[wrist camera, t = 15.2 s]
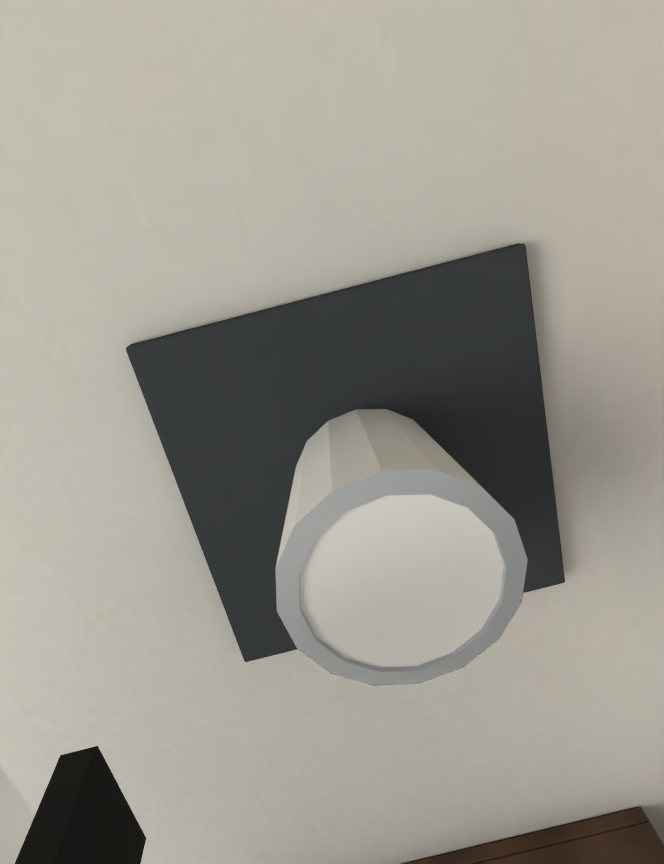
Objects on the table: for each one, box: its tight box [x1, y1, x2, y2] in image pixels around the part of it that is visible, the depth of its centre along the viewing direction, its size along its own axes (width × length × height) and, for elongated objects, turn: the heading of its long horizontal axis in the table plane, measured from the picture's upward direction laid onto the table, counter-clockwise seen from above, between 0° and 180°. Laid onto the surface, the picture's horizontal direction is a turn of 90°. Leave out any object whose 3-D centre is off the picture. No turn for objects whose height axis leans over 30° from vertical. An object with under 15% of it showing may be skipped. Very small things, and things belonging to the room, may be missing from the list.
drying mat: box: [126, 244, 565, 662], centre depth 22 cm, size 14×14×1 cm
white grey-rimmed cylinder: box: [275, 409, 528, 686], centre depth 19 cm, size 7×7×7 cm
